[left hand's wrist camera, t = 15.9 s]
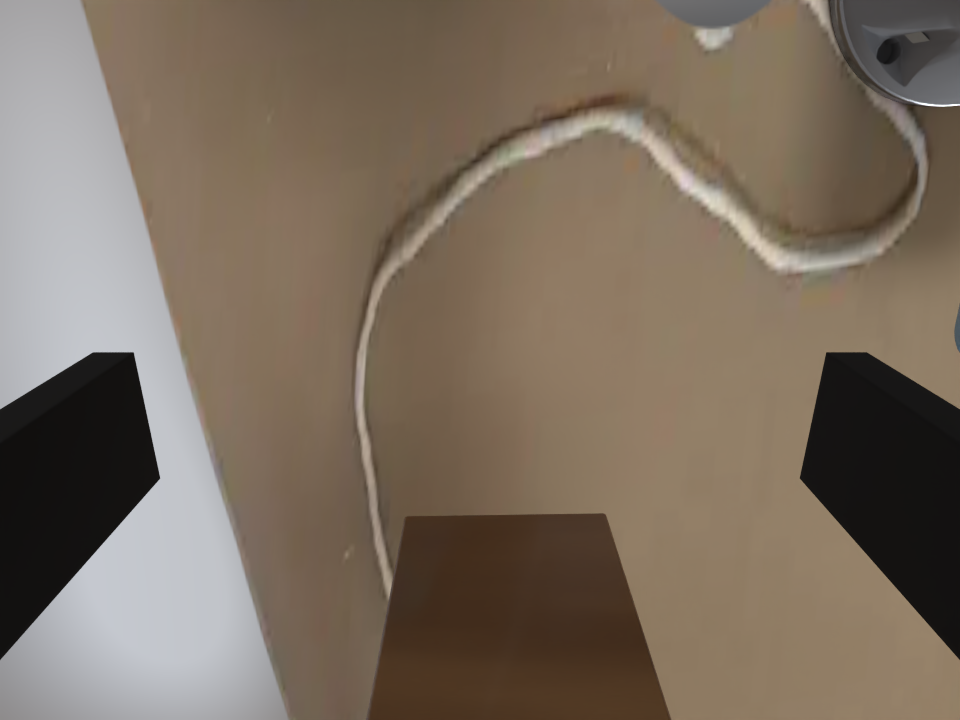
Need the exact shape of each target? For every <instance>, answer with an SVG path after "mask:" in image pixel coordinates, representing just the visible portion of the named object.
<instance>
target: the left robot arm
mask: <svg viewBox="0 0 960 720" xmlns="http://www.w3.org/2000/svg"><path fill="white" fill-rule="evenodd" d="M830 8H831V17H832V24H833V28H834V32H835V36H836V39H837V42H838V44H839V47H840V49H841V51H842V54H843V56H844V58H845V59H846V61H847V63H848V64H849V66H850V67H851V69H852V70H853V71H854V72H855V74H856V75H857V76H858V77H859V78H860V79H861V80H862V81H863V82H864V83H865V84H866V85H867V86H869V87H870V88H871V89H873V90H874V91H875V92H877V93H879V94H881V95H882V96H884V97H886V98H889V99H891V100H893V101H896V102H900V103H903V104H908V105H914V106H926V107H934V106H956V105H960V0H830ZM955 342H956V346H957V349H958V350H959V352H960V305H959V310H958V315H957V319H956V324H955ZM159 479H160V475H159V471H158V466H157V461H156V456H155V452H154V447H153V442H152V438H151V433H150V428H149V423H148V419H147V414H146V409H145V404H144V399H143V395H142V390H141V385H140V381H139V376H138V371H137V366H136V362H135V357H134V353H133V352H130V353H129V352H128V353H126V352H125V353H124V352H118V353H117V352H115V353H114V352H112V353H111V352H109V353H107V352H100V353H99V352H96V353H92V354H90V355H88V356H87V357H85V358H83V359H82V360H80V361H78V362H77V363H75V364H74V365H72V366H70V367H69V368H67V369H65V370H64V371H62V372H60V373H59V374H57V375H56V376H54V377H52V378H51V379H49V380H47V381H46V382H44V383H43V384H41V385H39V386H38V387H36V388H34V389H33V390H31V391H29V392H28V393H26V394H25V395H23V396H21V397H20V398H18V399H16V400H15V401H13V402H12V403H10V404H8V405H7V406H5V407H3V408H2V409H0V659H1V658H2V657H3V656H4V655H5V654H6V653H7V652H8V650H9V649H10V648H11V647H12V646H13V645H14V644H15V642H16V641H17V640H18V639H19V638H20V637H21V636H22V635H23V633H24V632H25V631H26V630H27V629H28V628H29V627H30V625H31V624H32V623H33V622H34V621H35V620H36V619H37V618H38V616H39V615H40V614H41V613H42V612H43V611H44V610H45V608H46V607H47V606H48V605H49V604H50V603H51V602H52V600H53V599H54V598H55V597H56V596H57V595H58V594H59V593H60V591H61V590H62V589H63V588H64V587H65V586H66V585H67V584H68V582H69V581H70V580H71V579H72V578H73V577H74V576H75V574H76V573H77V572H78V571H79V570H80V569H81V568H82V566H83V565H84V564H85V563H86V562H87V561H88V560H89V559H90V557H91V556H92V555H93V554H94V553H95V552H96V551H97V549H98V548H99V547H100V546H101V545H102V544H103V543H104V542H105V540H106V539H107V538H108V537H109V536H110V535H111V533H112V532H113V531H114V530H115V529H116V528H117V527H118V526H119V525H120V523H121V522H122V521H123V520H124V519H125V518H126V517H127V515H128V514H129V513H130V512H131V511H132V510H133V509H134V507H135V506H136V505H137V504H138V503H139V502H140V501H141V500H142V498H143V497H144V496H145V495H146V494H147V493H148V492H149V490H150V489H151V488H152V487H153V486H154V485H155V484H156V483H157V481H158V480H159ZM800 479H801V480H802V481H803V483H804V484H805V485H806V486H807V487H808V488H809V489H810V490H811V492H812V493H813V494H814V495H815V496H816V497H817V498H818V500H819V501H820V502H821V503H822V504H823V505H824V506H825V507H826V509H827V510H828V511H829V512H830V513H831V514H832V515H833V517H834V518H835V519H836V520H837V521H838V522H839V523H840V525H841V526H842V527H843V528H844V529H845V530H846V531H847V532H848V534H849V535H850V536H851V537H852V538H853V539H854V540H855V542H856V543H857V544H858V545H859V546H860V547H861V548H862V549H863V551H864V552H865V553H866V554H867V555H868V556H869V557H870V559H871V560H872V561H873V562H874V563H875V564H876V565H877V566H878V568H879V569H880V570H881V571H882V572H883V573H884V574H885V576H886V577H887V578H888V579H889V580H890V581H891V582H892V584H893V585H894V586H895V587H896V588H897V589H898V590H899V591H900V593H901V594H902V595H903V596H904V597H905V598H906V599H907V601H908V602H909V603H910V604H911V605H912V606H913V607H914V608H915V610H916V611H917V612H918V613H919V614H920V615H921V616H922V618H923V619H924V620H925V621H926V622H927V623H928V624H929V625H930V627H931V628H932V629H933V630H934V631H935V632H936V633H937V635H938V636H939V637H940V638H941V639H942V640H943V641H944V642H945V644H946V645H947V646H948V647H949V648H950V649H951V650H952V652H953V653H954V654H955V655H956V656H957V657H958V658H959V660H960V409H958V408H957V407H955V406H953V405H952V404H950V403H948V402H947V401H945V400H944V399H942V398H940V397H939V396H937V395H935V394H934V393H932V392H931V391H929V390H927V389H926V388H924V387H922V386H921V385H919V384H917V383H916V382H914V381H913V380H911V379H909V378H908V377H906V376H904V375H903V374H901V373H900V372H898V371H896V370H895V369H893V368H891V367H890V366H888V365H886V364H885V363H883V362H882V361H880V360H878V359H877V358H875V357H873V356H872V355H870V354H868V353H867V352H826V357H825V362H824V366H823V371H822V376H821V381H820V385H819V390H818V395H817V399H816V404H815V409H814V414H813V418H812V423H811V428H810V433H809V437H808V442H807V447H806V452H805V456H804V461H803V466H802V471H801V475H800Z"/></svg>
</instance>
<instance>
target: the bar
mask: <svg viewBox="0 0 960 720" xmlns="http://www.w3.org/2000/svg"><path fill="white" fill-rule="evenodd" d="M366 720H671V717H670V714H669V711H668V708H667V705H666V702H665V699H664V695H663V692H662V689H661V686H660V683H659V680H658V677H657V673H656V670H655V667H654V664H653V661H652V658H651V655H650V652H649V648H648V645H647V642H646V639H645V636H644V633H643V630H642V626H641V623H640V620H639V617H638V614H637V611H636V608H635V605H634V601H633V598H632V595H631V592H630V589H629V586H628V583H627V579H626V576H625V573H624V570H623V567H622V564H621V561H620V557H619V554H618V551H617V548H616V545H615V542H614V539H613V536H612V532H611V529H610V526H609V523H608V520H607V517H606V515H605V514H603V513H602V514H535V515H469V516H407V517H405V519H404V524H403V529H402V534H401V539H400V545H399V550H398V555H397V561H396V566H395V571H394V576H393V582H392V587H391V592H390V597H389V603H388V608H387V613H386V619H385V624H384V629H383V634H382V640H381V645H380V650H379V656H378V661H377V666H376V671H375V677H374V682H373V687H372V693H371V698H370V703H369V708H368V714H367V719H366Z"/></svg>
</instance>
